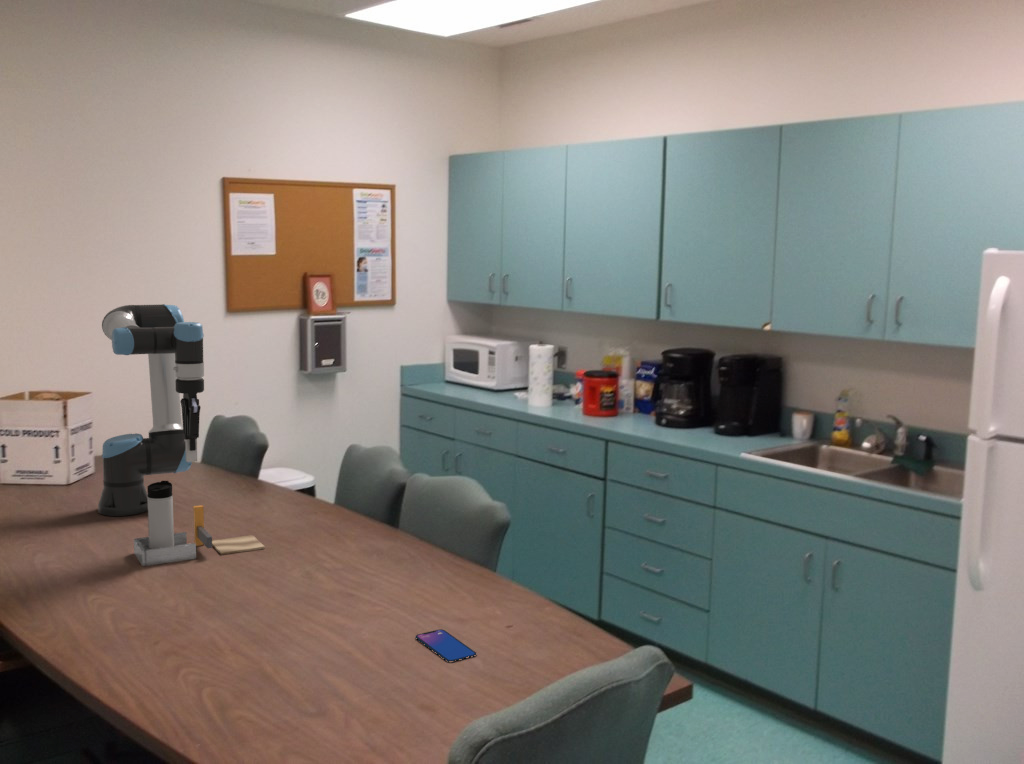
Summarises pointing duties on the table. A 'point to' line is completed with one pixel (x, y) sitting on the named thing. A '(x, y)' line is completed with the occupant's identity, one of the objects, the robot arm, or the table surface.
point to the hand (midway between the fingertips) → (191, 460)
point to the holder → (164, 551)
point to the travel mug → (160, 515)
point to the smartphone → (445, 645)
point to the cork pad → (237, 544)
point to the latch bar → (200, 528)
